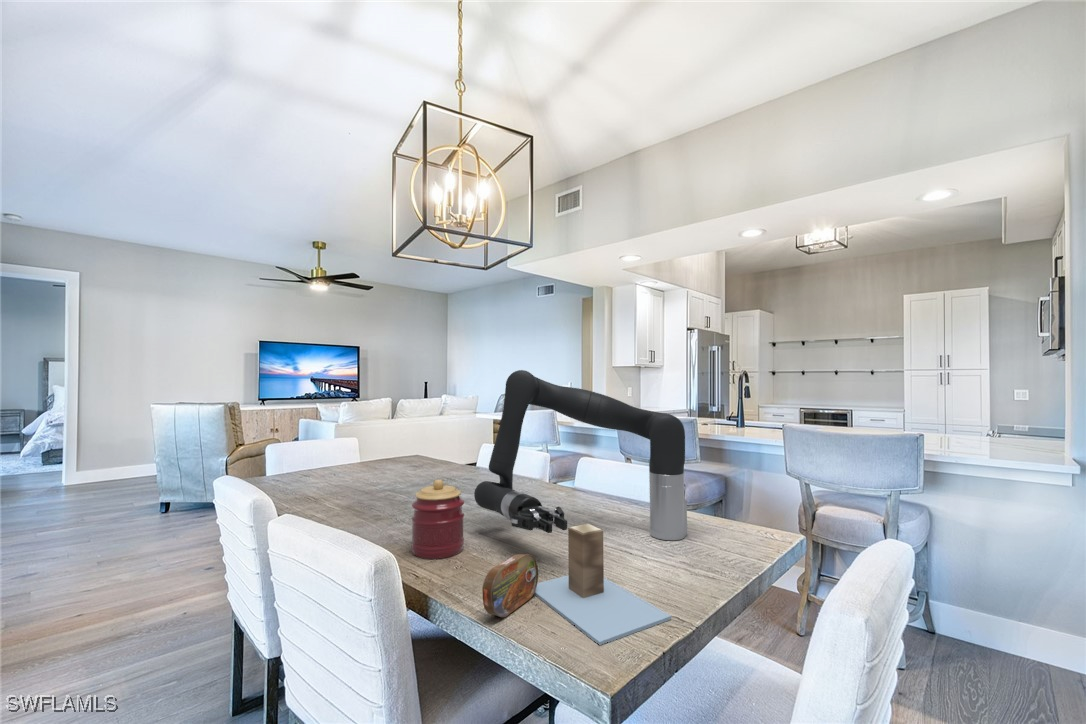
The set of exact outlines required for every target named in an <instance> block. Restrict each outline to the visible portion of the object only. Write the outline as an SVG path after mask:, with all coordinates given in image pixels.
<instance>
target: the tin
mask: <svg viewBox="0 0 1086 724" xmlns="http://www.w3.org/2000/svg"><path fill="white" fill-rule="evenodd" d="M483 580H484V581H483V584H482V602H483V603H482V604H483V608H484V610H485V611H486V612H487V614H489V615H491V616H496V617H500V618H506V617H508V616H509V615H511V614H512V613H513V612H514V611H516V610H517V609H519V608H520V607H521V606H523V605H524V604H526V603H527V602H528V601H529V600H531V598H533V596H534V592H535V590H536V587H537V583H539V582H538V581H539V567H538V564H537V561H536V559H535V558H534V556H533V555H531V554H528V553H526V554H523V553H522V554H521V553H519V554H515V555H513V556H512V557H510V558H507V559H506V560H504V561H503V562H501V563H499V564H497V565H496V566H494V567H492V568H491V569H490V570H489V571H488V573H487V574H486V575H485V578H484V579H483Z"/></svg>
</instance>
